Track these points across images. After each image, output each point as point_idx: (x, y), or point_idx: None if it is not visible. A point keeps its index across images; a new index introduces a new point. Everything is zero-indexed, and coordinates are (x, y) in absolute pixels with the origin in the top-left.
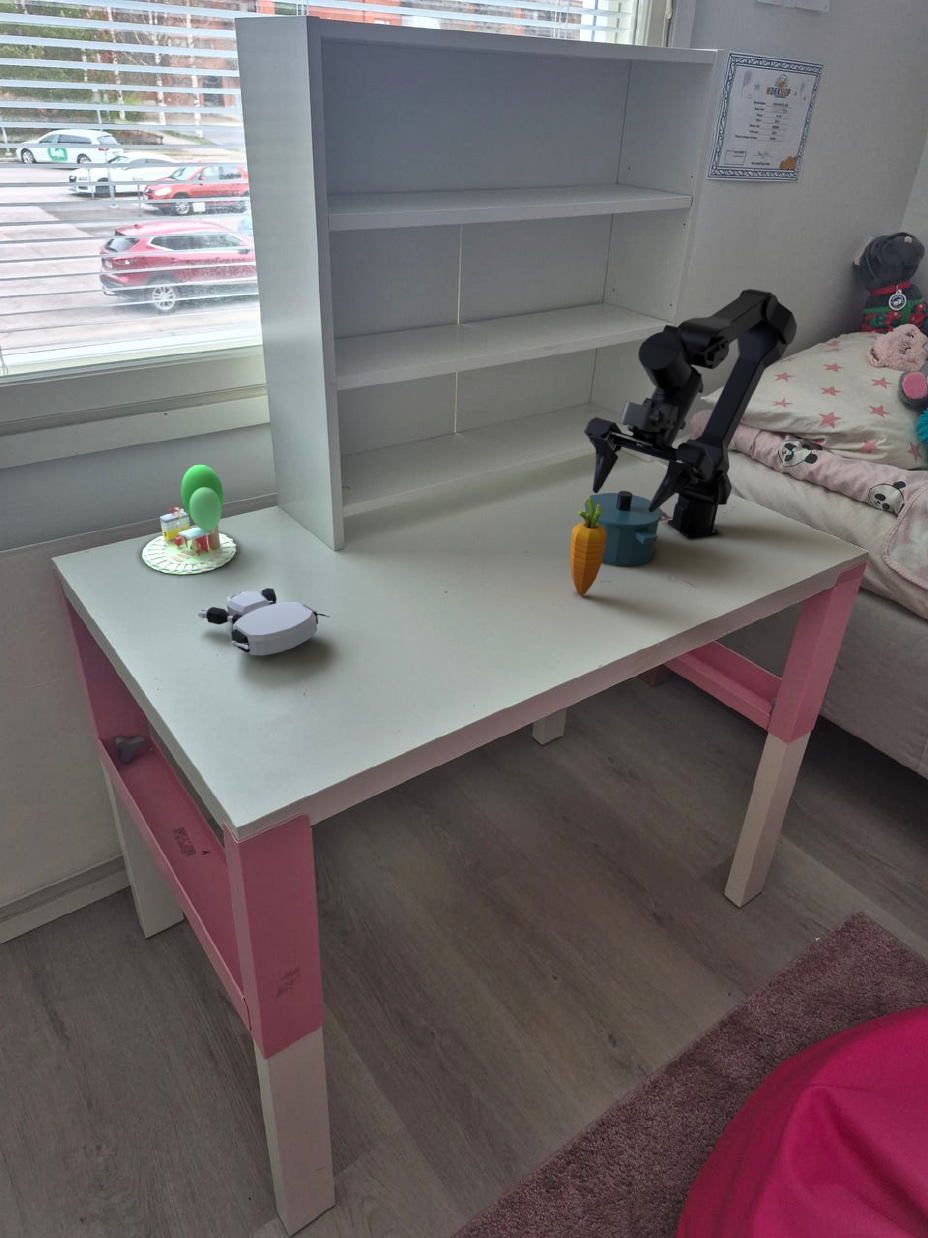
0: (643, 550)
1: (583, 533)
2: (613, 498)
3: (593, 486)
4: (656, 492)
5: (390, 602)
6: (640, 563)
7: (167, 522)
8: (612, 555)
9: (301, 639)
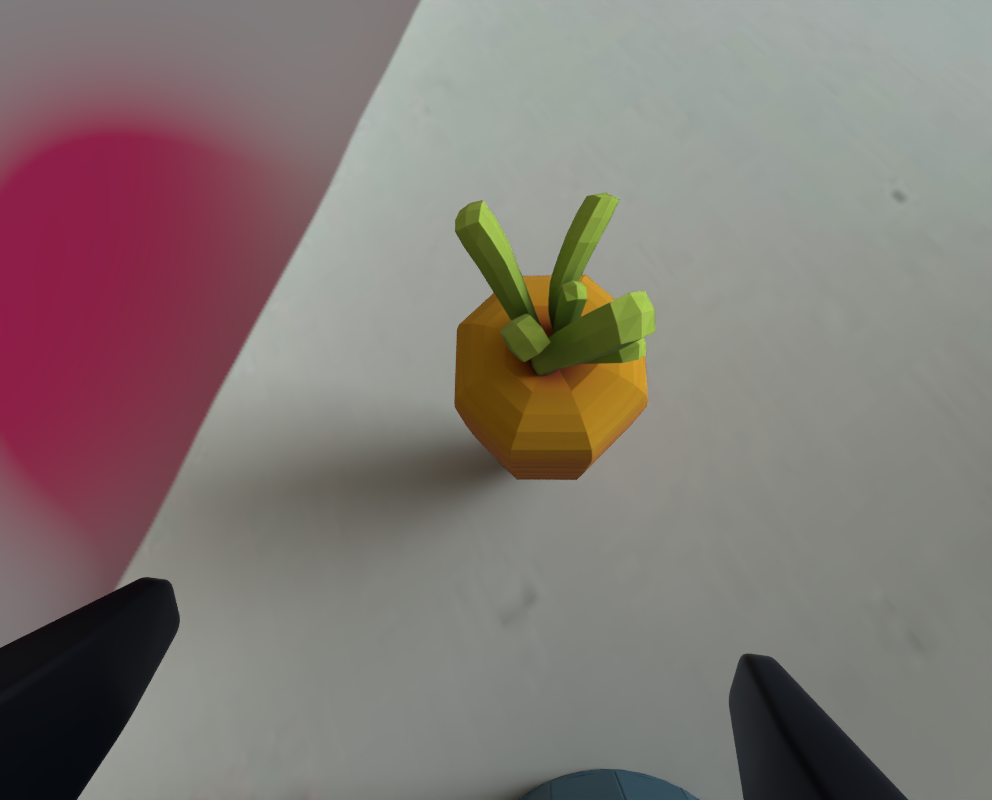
0: None
1: (550, 277)
2: None
3: (787, 676)
4: (3, 688)
5: (966, 61)
6: None
7: None
8: (569, 791)
9: None
